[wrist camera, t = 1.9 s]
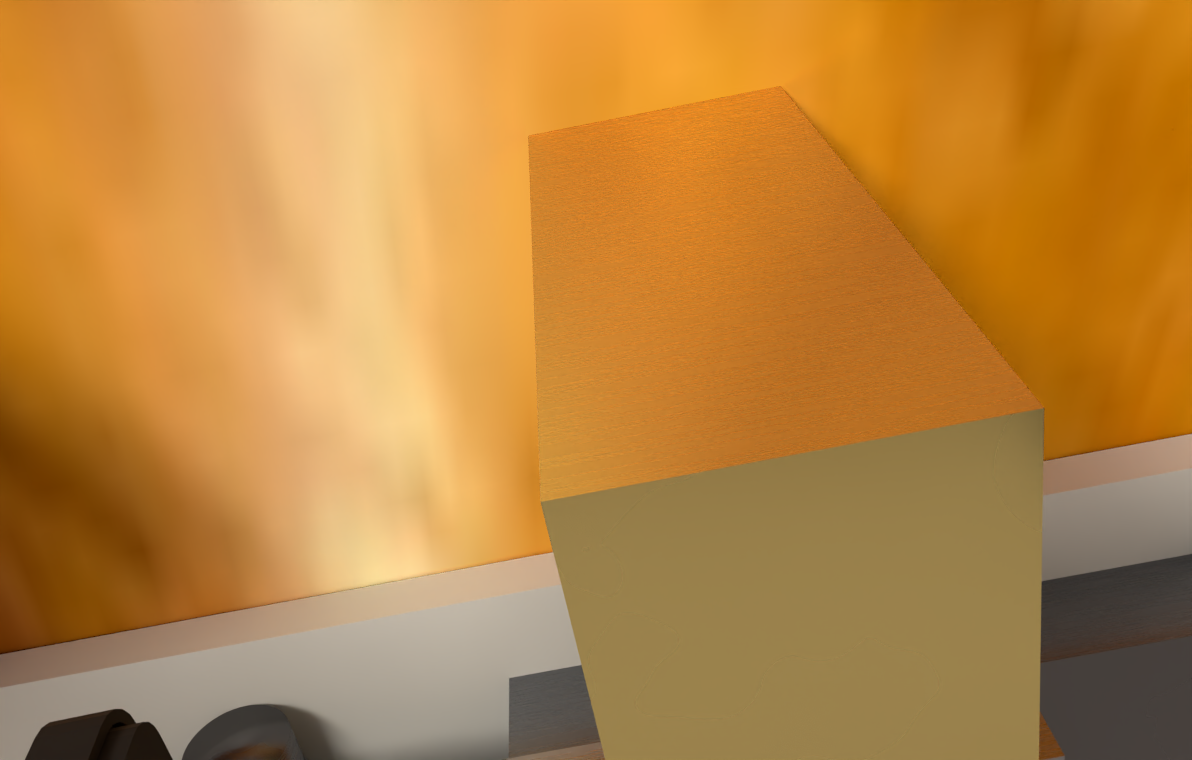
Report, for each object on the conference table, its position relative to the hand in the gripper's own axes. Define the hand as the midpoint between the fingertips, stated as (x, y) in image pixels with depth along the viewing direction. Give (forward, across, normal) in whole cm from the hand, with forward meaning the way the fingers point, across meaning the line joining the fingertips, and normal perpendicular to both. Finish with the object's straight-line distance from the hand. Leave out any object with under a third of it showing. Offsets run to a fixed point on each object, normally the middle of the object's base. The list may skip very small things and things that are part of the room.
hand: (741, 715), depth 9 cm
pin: (+11, -1, 0) cm, 11 cm away
